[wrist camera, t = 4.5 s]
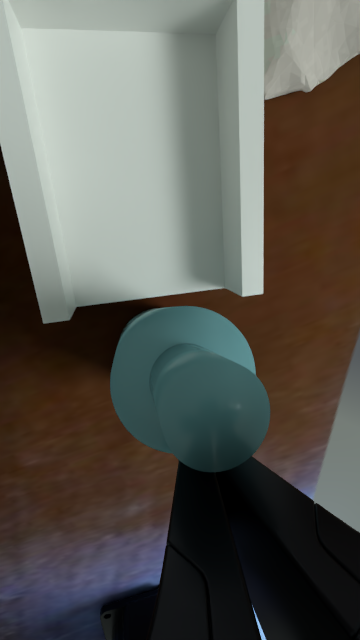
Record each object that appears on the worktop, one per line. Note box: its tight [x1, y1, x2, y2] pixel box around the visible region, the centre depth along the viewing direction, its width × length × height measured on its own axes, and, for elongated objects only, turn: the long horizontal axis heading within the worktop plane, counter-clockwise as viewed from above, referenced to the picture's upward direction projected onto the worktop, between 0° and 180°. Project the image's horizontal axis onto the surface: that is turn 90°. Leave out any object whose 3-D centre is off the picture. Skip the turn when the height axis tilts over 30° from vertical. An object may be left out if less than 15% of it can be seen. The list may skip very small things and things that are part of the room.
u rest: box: [0, 0, 264, 324], centre depth 12 cm, size 12×9×3 cm
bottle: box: [110, 306, 270, 472], centre depth 11 cm, size 4×4×10 cm
